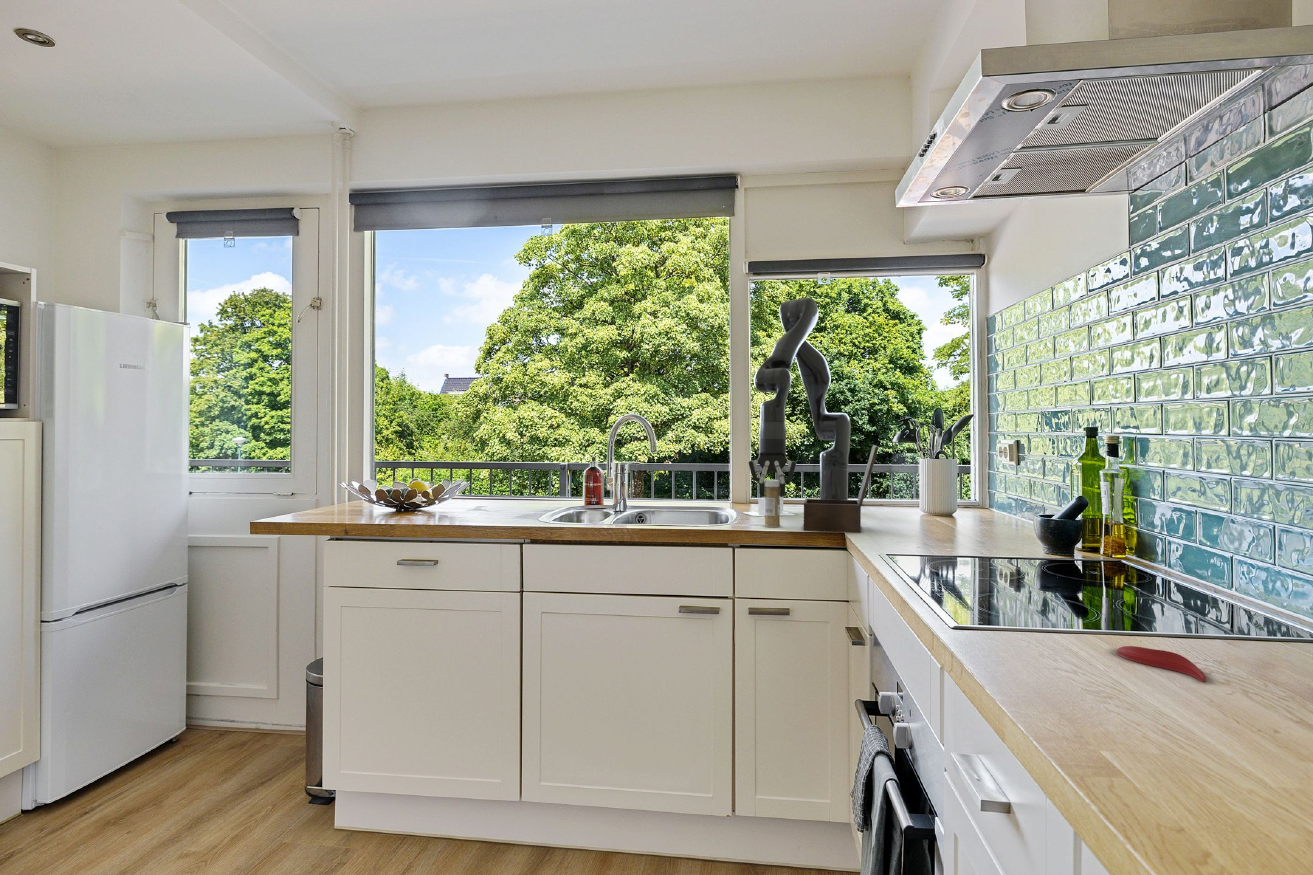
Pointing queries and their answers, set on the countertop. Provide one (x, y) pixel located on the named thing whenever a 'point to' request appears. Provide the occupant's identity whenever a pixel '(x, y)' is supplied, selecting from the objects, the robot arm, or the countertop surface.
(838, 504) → the chest
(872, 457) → the chest lid
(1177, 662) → the cayenne pepper
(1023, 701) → the countertop surface
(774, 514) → the sprinkles bottle
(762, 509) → the napkin holder
